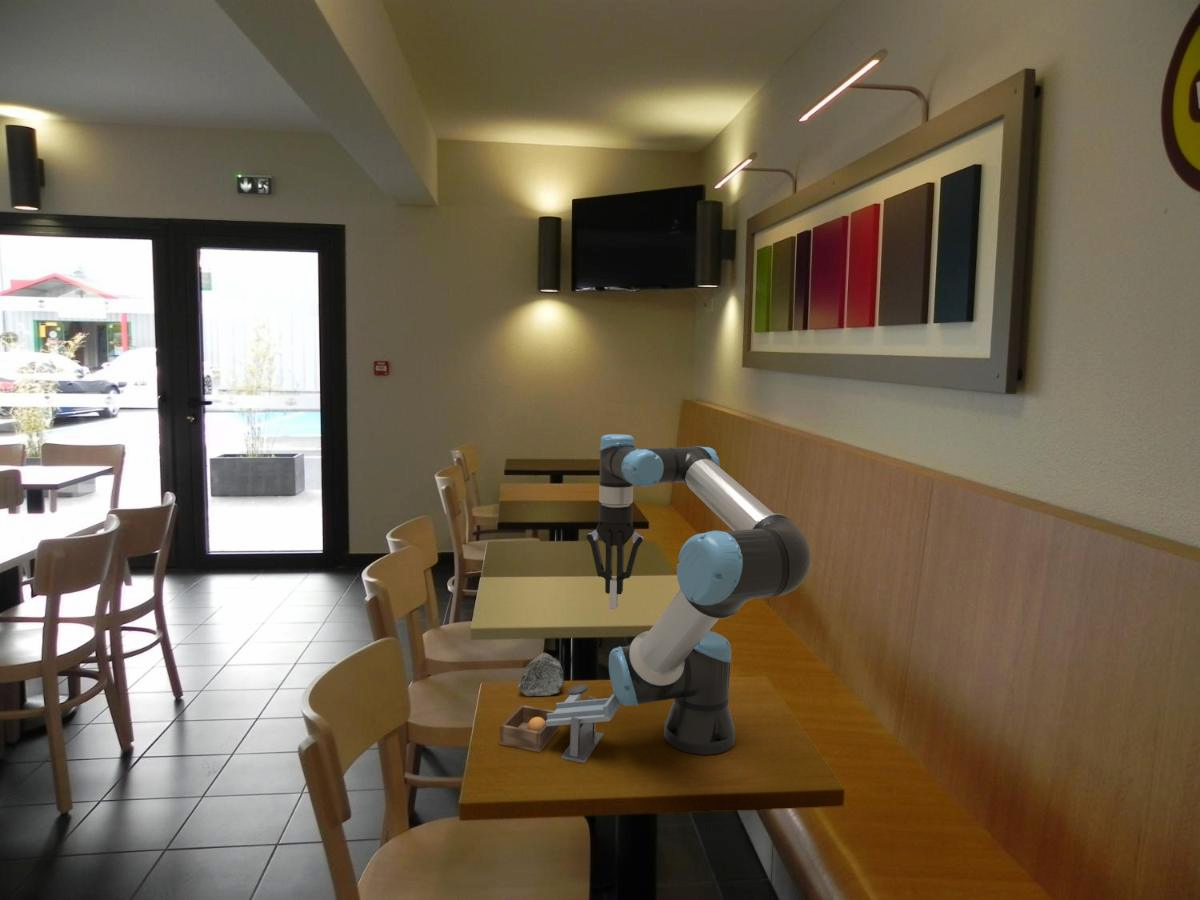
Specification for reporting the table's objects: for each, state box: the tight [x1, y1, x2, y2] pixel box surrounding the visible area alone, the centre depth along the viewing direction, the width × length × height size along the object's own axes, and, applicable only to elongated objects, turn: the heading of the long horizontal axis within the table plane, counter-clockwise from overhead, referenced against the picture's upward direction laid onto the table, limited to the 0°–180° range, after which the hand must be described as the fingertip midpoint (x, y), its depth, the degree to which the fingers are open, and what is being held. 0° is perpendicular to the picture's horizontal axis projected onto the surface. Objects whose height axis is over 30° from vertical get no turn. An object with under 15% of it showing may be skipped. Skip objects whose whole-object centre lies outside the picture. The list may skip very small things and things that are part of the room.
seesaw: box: [546, 683, 622, 726], centre depth 167 cm, size 15×18×3 cm
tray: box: [499, 704, 560, 753], centre depth 167 cm, size 9×11×4 cm
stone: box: [517, 652, 565, 697], centre depth 189 cm, size 10×10×10 cm
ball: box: [528, 717, 546, 731], centre depth 166 cm, size 4×4×4 cm
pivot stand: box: [560, 695, 604, 764], centre depth 163 cm, size 5×12×9 cm, turn 162°
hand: (613, 607), depth 176 cm, fingers closed
